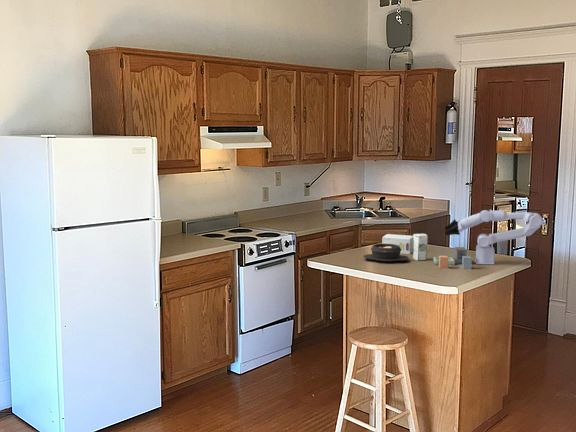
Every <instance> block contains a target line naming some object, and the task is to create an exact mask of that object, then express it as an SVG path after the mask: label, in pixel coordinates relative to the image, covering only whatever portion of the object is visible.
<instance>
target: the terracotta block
mask: <svg viewBox="0 0 576 432" xmlns="http://www.w3.org/2000/svg"><path fill="white" fill-rule="evenodd" d="M438 257H439V265H438V268H439V269H447V270H448V268H449V265H448V257H449V256H447V255H439V256H438Z"/></svg>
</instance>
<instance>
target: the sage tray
mask: <svg viewBox="0 0 576 432" xmlns="http://www.w3.org/2000/svg"><path fill="white" fill-rule="evenodd" d="M447 257H448V266H455V261H454V260H453V259H454V257H450V256H447ZM432 261H433V263H434V264H435V266H439V256H433V257H432Z"/></svg>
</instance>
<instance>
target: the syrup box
mask: <svg viewBox="0 0 576 432" xmlns="http://www.w3.org/2000/svg"><path fill="white" fill-rule="evenodd" d="M413 236H414V238H413V252H412V259H413V260H415V261H417V262H418V261H427V258H428V257H427V256H428V234H426V233H413Z"/></svg>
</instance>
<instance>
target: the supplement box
mask: <svg viewBox="0 0 576 432" xmlns="http://www.w3.org/2000/svg"><path fill="white" fill-rule="evenodd" d="M413 238H414V235H409V234H408V235H404V234H393V233H386V234H385V235H384V236H382V238H381V239H382V240H381V241H382V242H381V244H395V245H399V246H400V249H401V252H400V254H404V255H405V254H407V255H411V254H413Z"/></svg>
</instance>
